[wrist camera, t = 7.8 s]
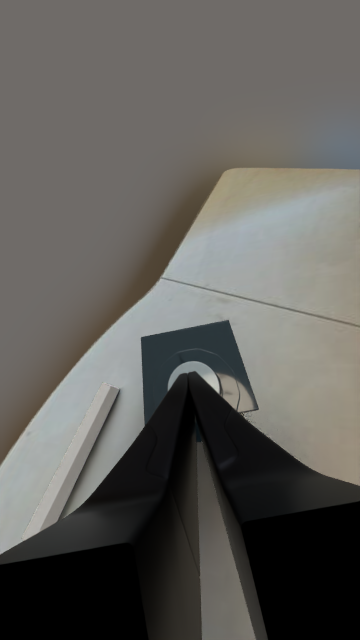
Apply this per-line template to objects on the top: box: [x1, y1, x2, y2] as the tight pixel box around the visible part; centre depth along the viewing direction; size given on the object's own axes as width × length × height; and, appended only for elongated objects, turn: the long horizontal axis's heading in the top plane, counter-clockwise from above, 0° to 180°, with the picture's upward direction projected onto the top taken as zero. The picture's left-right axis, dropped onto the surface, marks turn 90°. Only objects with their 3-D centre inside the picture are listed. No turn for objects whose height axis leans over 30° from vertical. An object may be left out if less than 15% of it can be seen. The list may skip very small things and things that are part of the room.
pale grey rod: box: [21, 382, 120, 541], centre depth 17 cm, size 3×2×16 cm
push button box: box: [141, 320, 259, 443], centre depth 17 cm, size 9×9×8 cm
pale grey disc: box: [168, 361, 220, 394], centre depth 12 cm, size 3×3×2 cm
